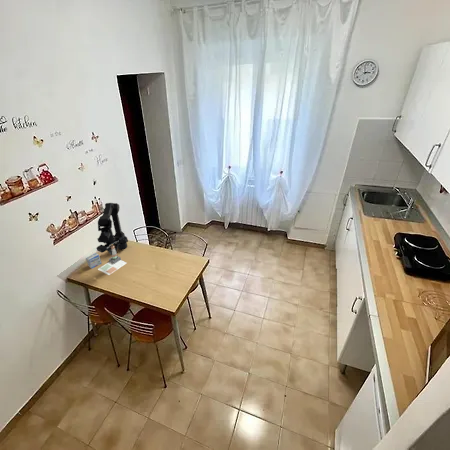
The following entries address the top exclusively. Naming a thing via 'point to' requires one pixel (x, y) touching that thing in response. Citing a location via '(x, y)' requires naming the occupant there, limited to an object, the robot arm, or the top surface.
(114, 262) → the board with colored squares
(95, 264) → the medicine box
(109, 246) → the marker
